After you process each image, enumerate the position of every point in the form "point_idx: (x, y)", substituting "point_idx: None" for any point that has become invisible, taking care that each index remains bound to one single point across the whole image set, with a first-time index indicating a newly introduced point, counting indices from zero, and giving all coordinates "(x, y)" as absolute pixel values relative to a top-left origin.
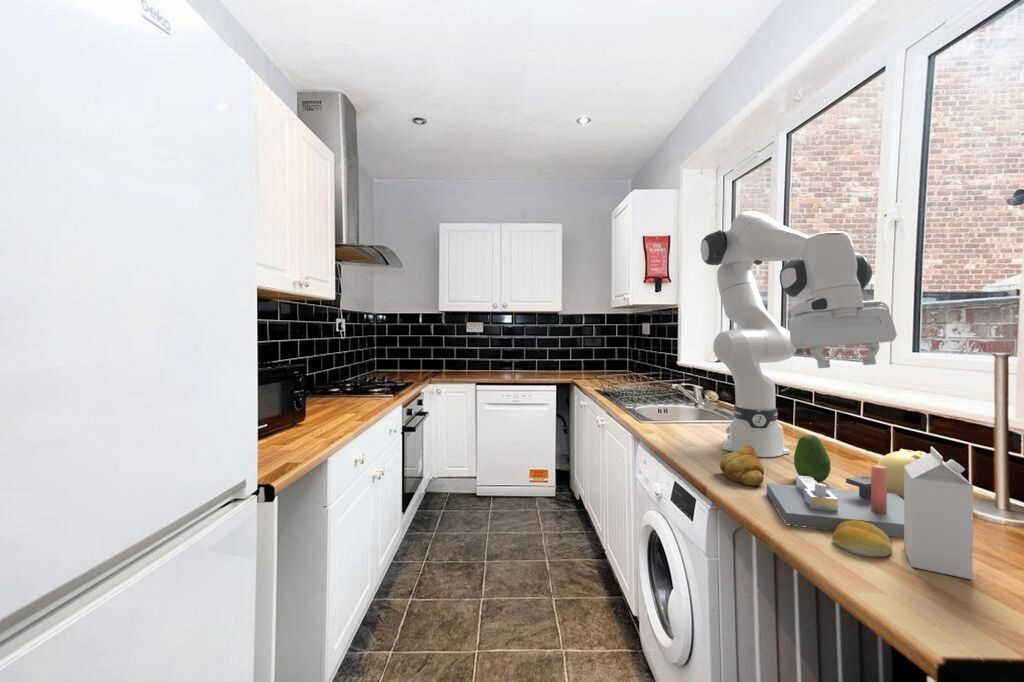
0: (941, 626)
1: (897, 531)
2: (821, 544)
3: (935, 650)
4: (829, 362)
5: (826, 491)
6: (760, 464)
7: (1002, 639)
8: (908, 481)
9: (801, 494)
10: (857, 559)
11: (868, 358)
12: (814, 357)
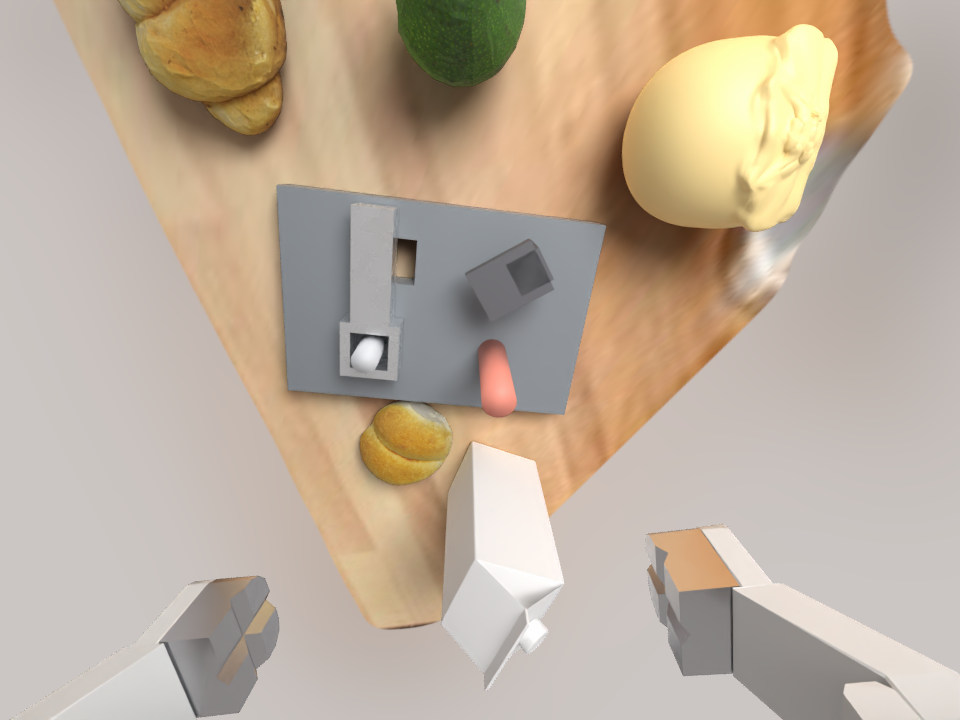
0: (404, 593)
1: None
2: (340, 443)
3: (376, 623)
4: (255, 678)
5: (390, 333)
6: (253, 69)
7: None
8: (454, 580)
9: None
10: (379, 480)
11: (677, 652)
12: (74, 682)
